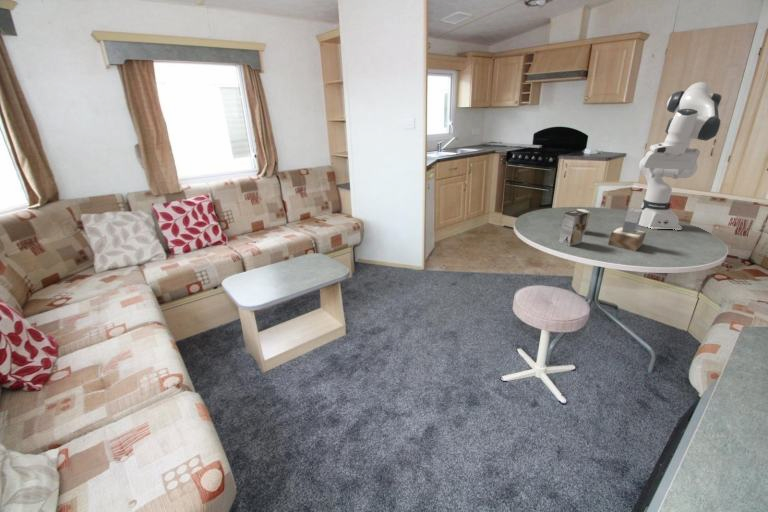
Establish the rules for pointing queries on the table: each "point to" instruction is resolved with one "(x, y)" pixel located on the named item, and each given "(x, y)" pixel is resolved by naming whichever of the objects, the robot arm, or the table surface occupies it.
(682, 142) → the robot arm
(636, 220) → the block
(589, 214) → the skincare box
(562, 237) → the coffee box
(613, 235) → the walnut stand
